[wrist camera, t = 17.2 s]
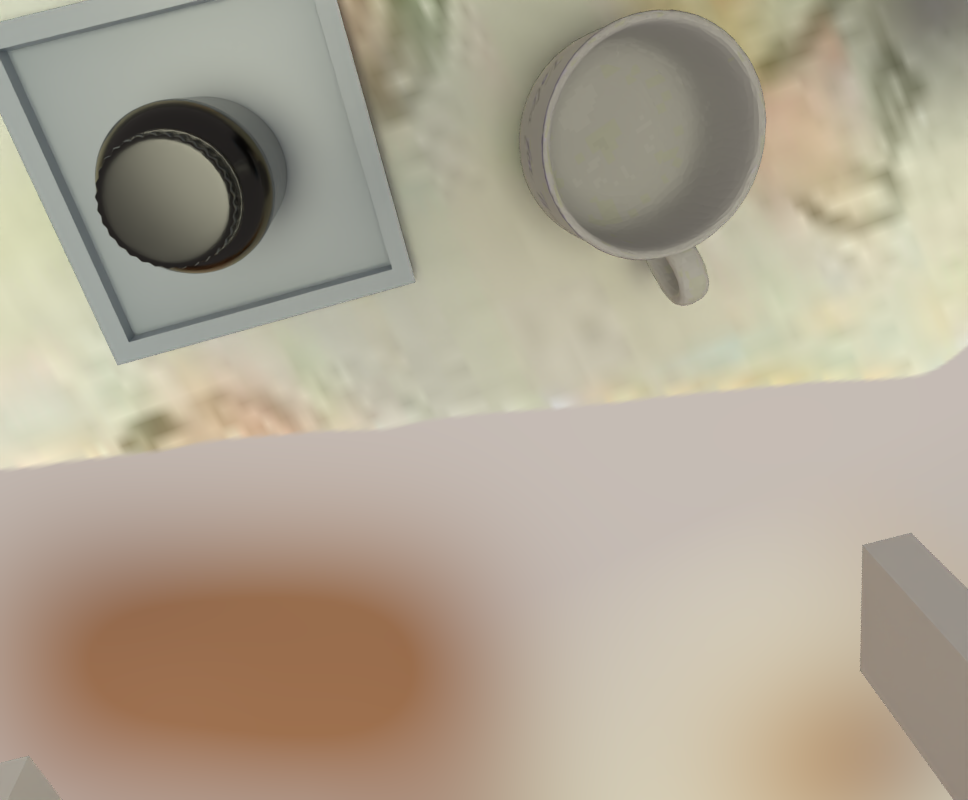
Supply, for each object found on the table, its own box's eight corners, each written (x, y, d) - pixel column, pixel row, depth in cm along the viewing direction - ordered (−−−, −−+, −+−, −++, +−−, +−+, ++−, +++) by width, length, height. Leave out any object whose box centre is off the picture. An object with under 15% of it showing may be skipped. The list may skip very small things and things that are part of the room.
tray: (321, -50, 36) (321, -57, 34) (412, 274, 42) (415, 282, 41) (-19, 34, 35) (-39, 31, 33) (127, 353, 41) (117, 365, 39)
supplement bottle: (161, 73, 36) (83, 64, 25) (304, 126, 38) (290, 140, 27) (130, 213, 38) (46, 262, 27) (267, 257, 40) (241, 319, 29)
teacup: (488, 47, 39) (523, 36, 31) (688, 5, 40) (768, -16, 32) (534, 306, 44) (572, 348, 37) (709, 263, 45) (780, 296, 38)
